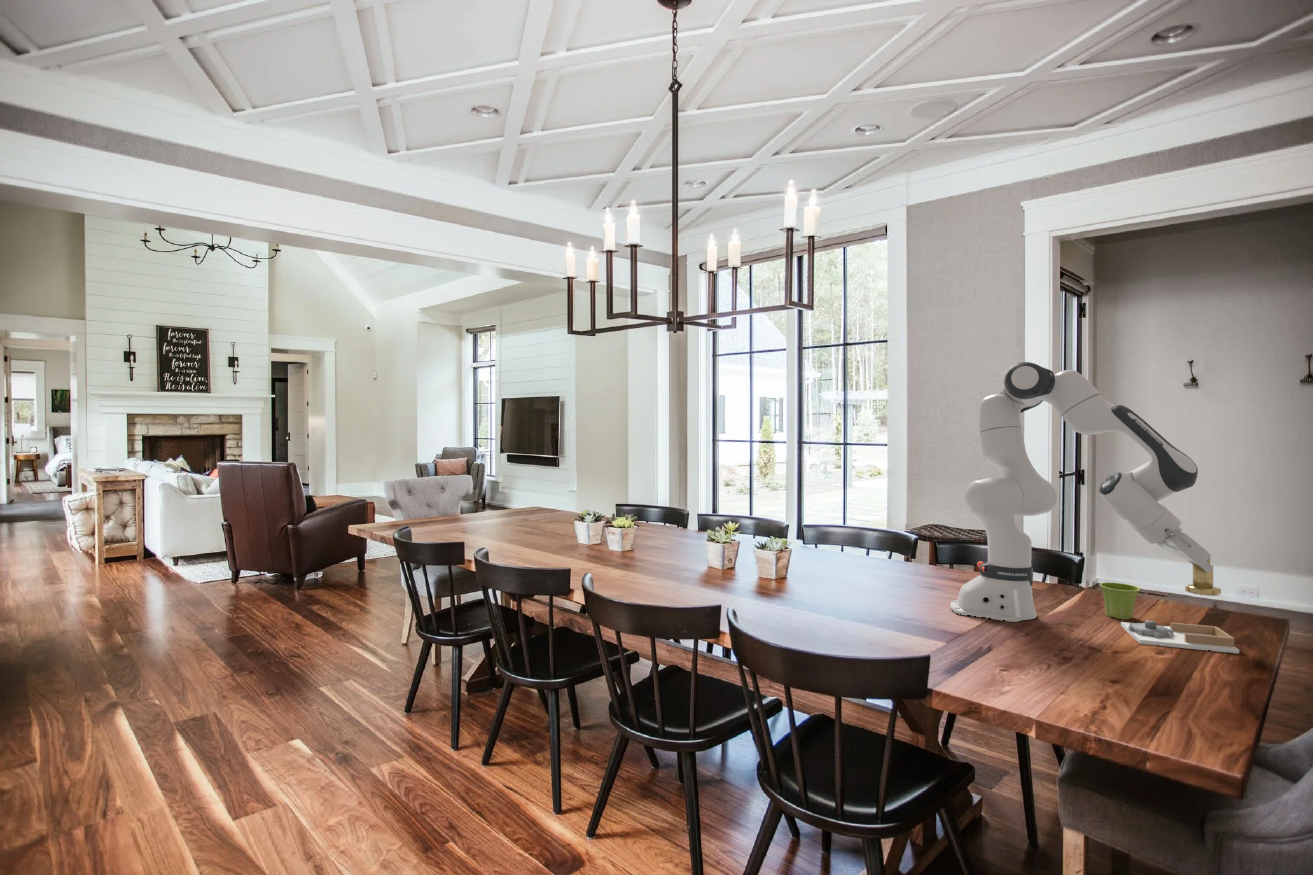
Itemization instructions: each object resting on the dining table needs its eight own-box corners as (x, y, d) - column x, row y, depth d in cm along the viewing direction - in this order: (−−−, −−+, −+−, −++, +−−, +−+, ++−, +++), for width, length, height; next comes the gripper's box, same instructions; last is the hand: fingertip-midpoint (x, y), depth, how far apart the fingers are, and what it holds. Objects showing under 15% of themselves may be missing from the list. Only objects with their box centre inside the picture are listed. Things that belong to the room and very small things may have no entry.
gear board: (1138, 643, 169) (1139, 628, 169) (1120, 625, 184) (1120, 611, 184) (1239, 653, 162) (1239, 637, 162) (1211, 633, 177) (1211, 619, 177)
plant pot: (1146, 622, 187) (1146, 591, 187) (1108, 620, 189) (1108, 589, 189) (1129, 613, 196) (1130, 583, 196) (1093, 611, 198) (1094, 581, 198)
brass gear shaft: (1190, 594, 168) (1191, 556, 168) (1181, 588, 174) (1181, 552, 174) (1225, 596, 166) (1225, 558, 166) (1214, 590, 172) (1214, 553, 172)
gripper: (1186, 524, 162) (1236, 568, 159) (1155, 514, 182) (1198, 552, 179) (1164, 541, 164) (1212, 585, 161) (1135, 529, 183) (1178, 568, 180)
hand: (1205, 568), depth 170 cm, fingers closed on brass gear shaft, 4 cm apart
